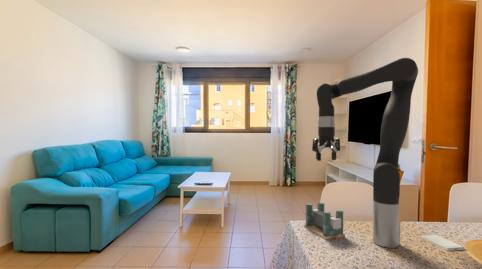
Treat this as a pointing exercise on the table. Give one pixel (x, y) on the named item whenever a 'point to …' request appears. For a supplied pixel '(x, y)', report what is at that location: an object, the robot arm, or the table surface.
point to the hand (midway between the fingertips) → (326, 160)
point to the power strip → (319, 219)
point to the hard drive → (442, 242)
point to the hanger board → (324, 223)
